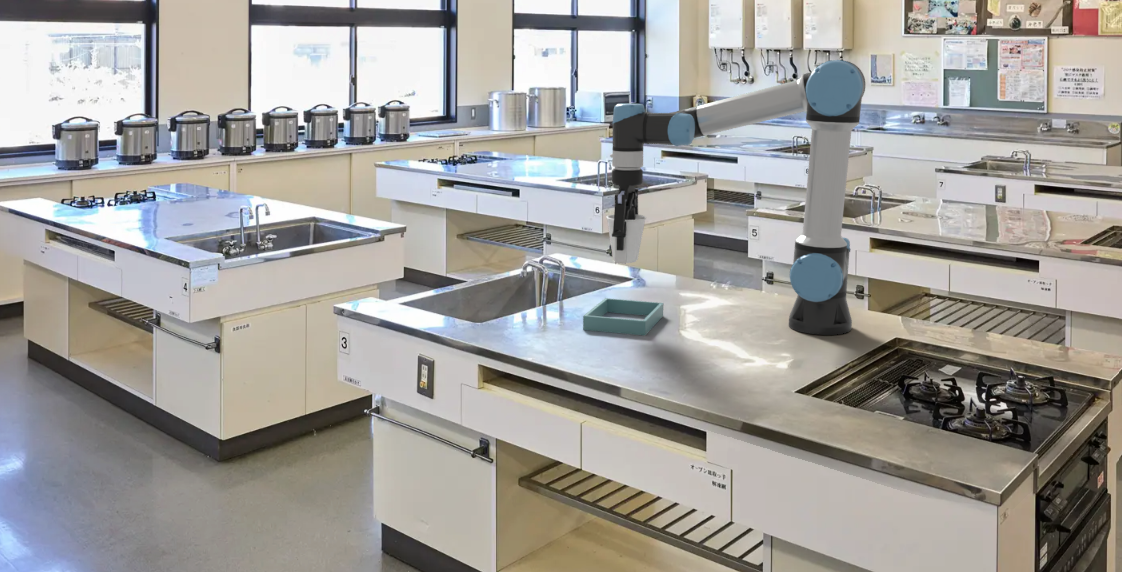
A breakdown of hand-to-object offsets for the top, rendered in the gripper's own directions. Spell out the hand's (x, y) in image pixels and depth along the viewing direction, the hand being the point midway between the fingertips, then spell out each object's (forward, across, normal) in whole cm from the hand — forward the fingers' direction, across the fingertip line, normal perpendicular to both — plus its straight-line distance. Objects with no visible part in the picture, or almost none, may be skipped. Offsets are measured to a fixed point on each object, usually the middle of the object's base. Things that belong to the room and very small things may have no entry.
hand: (625, 259), depth 246 cm
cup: (+1, 0, 0) cm, 1 cm away
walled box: (+16, 0, 0) cm, 16 cm away
